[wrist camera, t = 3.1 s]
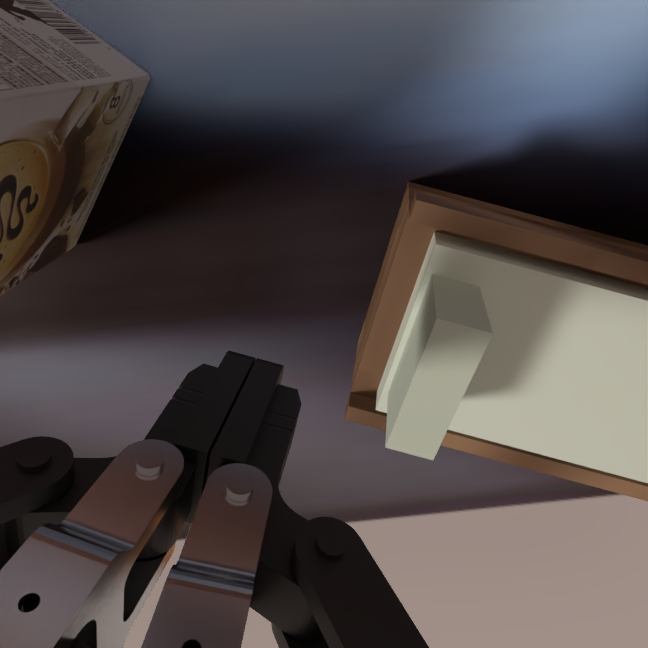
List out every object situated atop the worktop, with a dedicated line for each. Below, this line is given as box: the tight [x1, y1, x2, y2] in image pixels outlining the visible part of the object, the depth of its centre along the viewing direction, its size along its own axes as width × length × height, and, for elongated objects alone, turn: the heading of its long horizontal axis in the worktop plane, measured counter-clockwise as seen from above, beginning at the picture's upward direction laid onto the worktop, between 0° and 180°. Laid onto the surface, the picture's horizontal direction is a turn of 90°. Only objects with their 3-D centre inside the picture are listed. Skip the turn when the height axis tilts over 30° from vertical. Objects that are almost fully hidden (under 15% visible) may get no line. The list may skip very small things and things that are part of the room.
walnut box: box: [344, 182, 648, 501], centre depth 20 cm, size 14×9×5 cm, turn 77°
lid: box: [376, 231, 648, 483], centre depth 17 cm, size 11×7×4 cm, turn 77°
